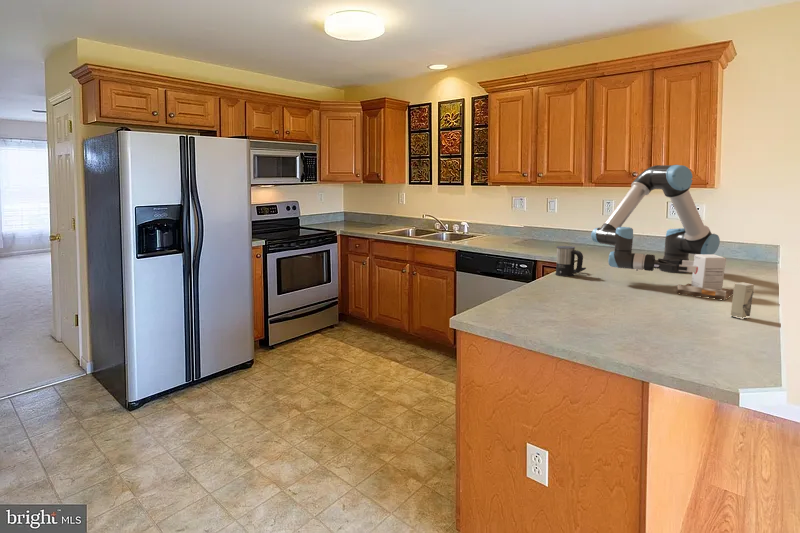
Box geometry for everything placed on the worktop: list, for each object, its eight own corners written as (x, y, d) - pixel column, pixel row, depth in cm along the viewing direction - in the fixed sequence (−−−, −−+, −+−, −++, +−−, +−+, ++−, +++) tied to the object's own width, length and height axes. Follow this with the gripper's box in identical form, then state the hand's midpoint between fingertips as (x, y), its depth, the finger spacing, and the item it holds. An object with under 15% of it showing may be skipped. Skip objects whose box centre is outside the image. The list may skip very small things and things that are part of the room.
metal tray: (676, 293, 221) (677, 284, 220) (687, 287, 232) (688, 279, 232) (724, 301, 209) (725, 291, 208) (733, 294, 220) (734, 285, 219)
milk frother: (553, 275, 260) (554, 247, 257) (559, 270, 274) (561, 243, 271) (581, 278, 253) (583, 249, 251) (587, 272, 267) (588, 245, 264)
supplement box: (690, 286, 225) (693, 254, 222) (710, 286, 225) (714, 254, 222) (701, 291, 216) (705, 257, 214) (722, 291, 216) (726, 257, 213)
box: (742, 320, 182) (746, 285, 180) (729, 317, 186) (733, 283, 183) (750, 318, 184) (754, 284, 182) (737, 315, 188) (742, 281, 186)
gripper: (648, 265, 244) (698, 270, 232) (639, 274, 223) (694, 280, 212) (649, 250, 242) (700, 254, 231) (641, 258, 222) (696, 262, 210)
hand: (697, 266), depth 221 cm, fingers open, 13 cm apart
